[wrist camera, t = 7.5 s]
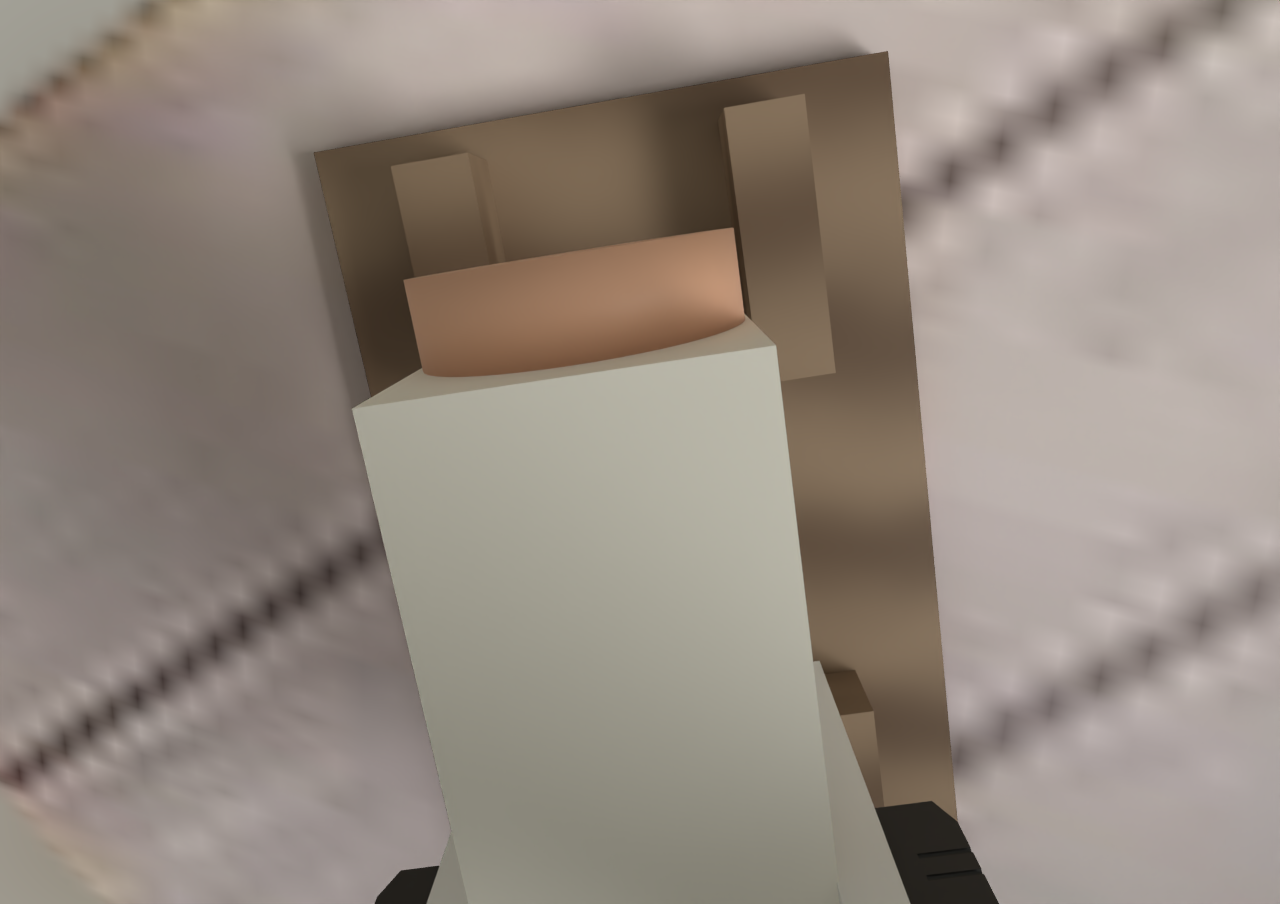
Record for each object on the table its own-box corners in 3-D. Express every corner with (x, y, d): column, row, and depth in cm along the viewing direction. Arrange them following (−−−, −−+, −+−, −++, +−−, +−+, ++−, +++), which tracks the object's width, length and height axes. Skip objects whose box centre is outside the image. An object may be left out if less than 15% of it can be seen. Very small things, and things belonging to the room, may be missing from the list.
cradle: (952, 854, 31) (988, 931, 27) (501, 909, 32) (482, 989, 28) (879, 58, 25) (913, 30, 21) (326, 155, 26) (276, 143, 22)
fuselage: (828, 1059, 19) (959, 1709, 11) (617, 1080, 19) (584, 1731, 11) (721, 227, 15) (800, 225, 6) (456, 269, 15) (203, 317, 7)
